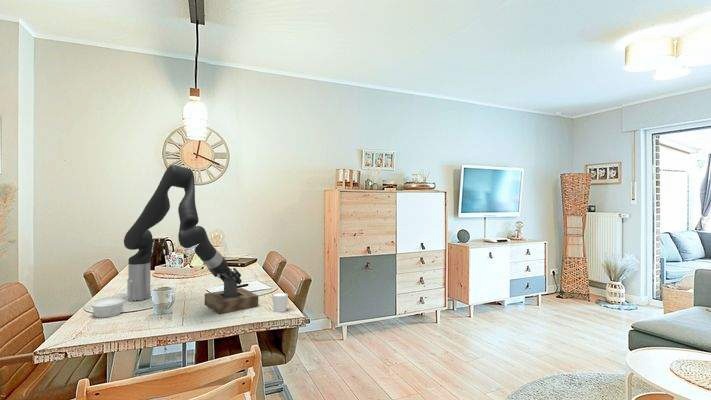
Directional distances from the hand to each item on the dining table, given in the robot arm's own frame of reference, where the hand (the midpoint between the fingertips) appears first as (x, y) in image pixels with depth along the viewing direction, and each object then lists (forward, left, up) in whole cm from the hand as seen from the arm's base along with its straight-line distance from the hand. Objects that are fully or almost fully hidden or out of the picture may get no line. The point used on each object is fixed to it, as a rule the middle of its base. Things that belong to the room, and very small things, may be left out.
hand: (233, 281), depth 172 cm
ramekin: (-46, +20, -11) cm, 51 cm away
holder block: (-1, 0, -11) cm, 11 cm away
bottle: (-1, 0, -9) cm, 10 cm away
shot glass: (+13, -20, -11) cm, 27 cm away
